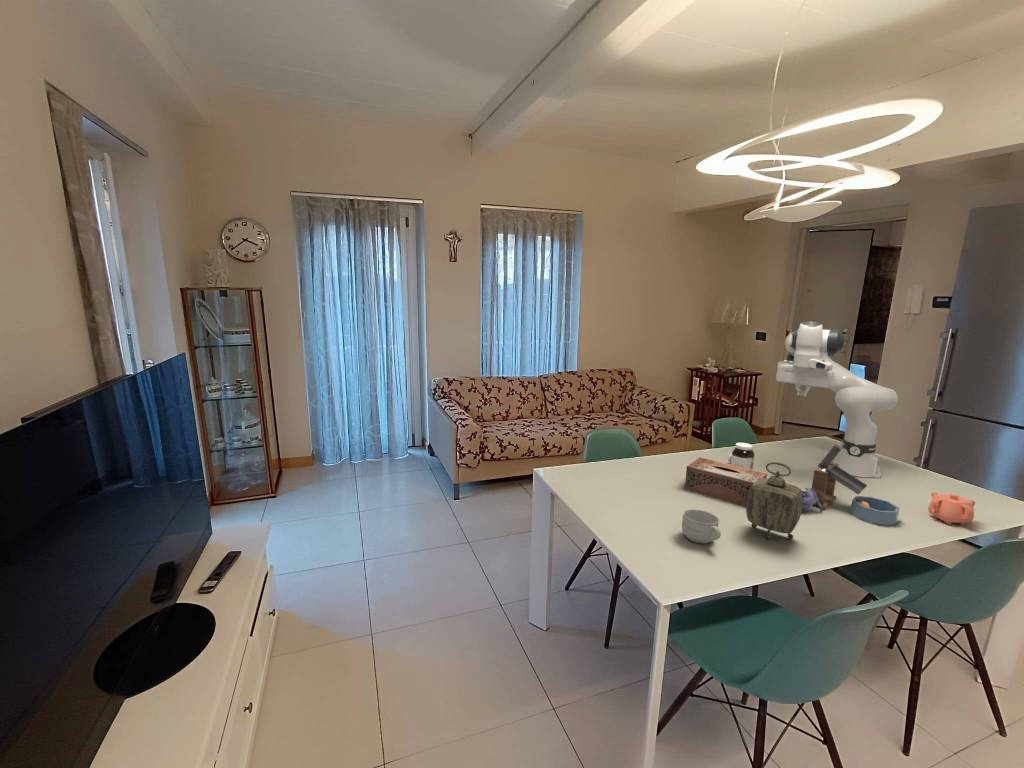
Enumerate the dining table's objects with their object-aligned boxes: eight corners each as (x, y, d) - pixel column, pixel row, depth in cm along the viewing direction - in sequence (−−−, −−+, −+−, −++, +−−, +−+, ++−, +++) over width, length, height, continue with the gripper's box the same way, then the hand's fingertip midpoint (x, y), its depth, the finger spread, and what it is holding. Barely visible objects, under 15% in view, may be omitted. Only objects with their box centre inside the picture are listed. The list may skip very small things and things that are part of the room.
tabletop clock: (797, 539, 148) (808, 465, 143) (791, 550, 141) (802, 473, 136) (749, 524, 157) (757, 454, 153) (741, 533, 151) (749, 461, 146)
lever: (821, 463, 178) (838, 441, 173) (862, 490, 169) (882, 468, 164) (813, 469, 172) (831, 447, 167) (855, 497, 163) (876, 475, 158)
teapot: (928, 509, 170) (933, 485, 169) (973, 521, 161) (978, 495, 160) (922, 518, 163) (927, 493, 161) (969, 531, 154) (974, 504, 152)
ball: (874, 507, 165) (863, 512, 167) (864, 497, 167) (854, 503, 169) (871, 510, 162) (861, 516, 165) (862, 501, 164) (852, 506, 166)
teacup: (675, 530, 152) (677, 508, 150) (706, 529, 153) (708, 507, 151) (695, 553, 138) (697, 529, 137) (729, 552, 139) (732, 528, 138)
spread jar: (744, 474, 202) (746, 449, 200) (719, 466, 211) (722, 442, 209) (757, 468, 209) (760, 444, 207) (733, 461, 218) (736, 438, 216)
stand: (818, 494, 182) (823, 460, 180) (836, 499, 178) (841, 464, 175) (806, 504, 173) (811, 469, 170) (824, 510, 168) (830, 474, 166)
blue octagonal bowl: (856, 505, 173) (858, 493, 172) (899, 518, 163) (902, 504, 162) (846, 515, 164) (849, 502, 163) (892, 529, 155) (894, 515, 154)
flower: (827, 491, 169) (803, 479, 169) (833, 509, 162) (808, 496, 162) (807, 504, 175) (784, 492, 175) (813, 522, 168) (789, 510, 168)
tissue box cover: (684, 489, 186) (686, 466, 184) (697, 479, 196) (699, 457, 194) (754, 509, 169) (757, 483, 167) (764, 497, 180) (767, 473, 178)
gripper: (775, 360, 191) (771, 392, 194) (833, 365, 176) (828, 401, 179) (781, 358, 195) (777, 390, 198) (837, 364, 180) (832, 398, 183)
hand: (801, 395), depth 188 cm, fingers closed
